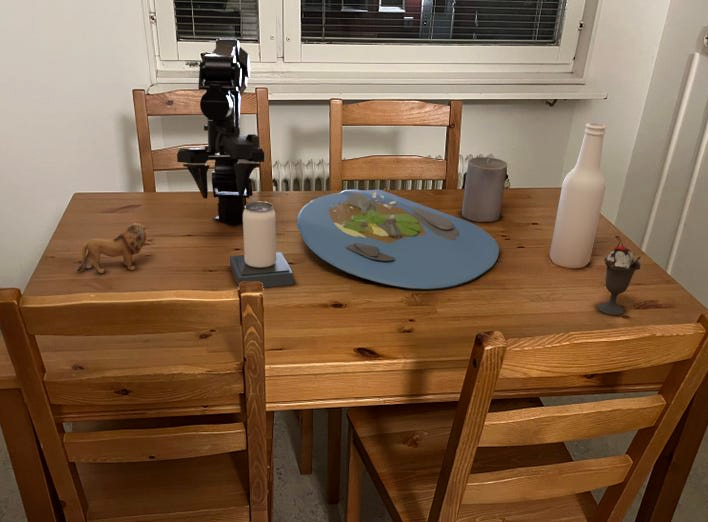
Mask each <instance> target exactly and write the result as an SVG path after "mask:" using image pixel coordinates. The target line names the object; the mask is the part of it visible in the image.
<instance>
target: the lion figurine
mask: <svg viewBox="0 0 708 522" xmlns="http://www.w3.org/2000/svg"><path fill="white" fill-rule="evenodd" d="M146 241H147V232H146V229H145V225H143V224H141V223H137V222H134V223H131V224H129V225H127V228H126V230H124V231H123V232H121V233H120V234H119V235H117V237H115V238H112V239H103V238H97V237H96V238H91V239H89V240H87V242H85V244H84V246H83V248H82V255H81V263H80V266H78V268H77V269H76V272H80V271H82V269H83V268H85V269H91V268H92V264H89V262H90V261H91V260H93V267H94V268H95V270H96V271H97V273H99V274H104V273H105V272H106V271H105V269H104V268H100V265H99V263H100V259H101V254H102V255H104V256H106V257H110V258H118V257H122V258H123V264H124V265H125V266H126V267H127V268H128V270H129V271H135V270H136V266H133V255H136V254H139V253H140V252H141V250H142V248H143V247H144V245H145V244H146Z"/></svg>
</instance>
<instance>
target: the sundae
mask: <svg viewBox="0 0 708 522" xmlns="http://www.w3.org/2000/svg"><path fill="white" fill-rule="evenodd" d="M614 237H615V238H616V240H618V244H617V245H615V246H614V247H613V251H611V252H609V254H608V256H606V257H605V258H603V261H604V263H605V265H606V271H605V288H606V289H607V291H608V292H609V293H610V298H609V300H608V302H603V303H599V304H598V305H597V309H598V310H599V311H600V312H601V313H603V314H606V315H609V316H620V315H623V314H624V311H625V310H624V309H623V307H622V306H621V305H618V304H617V299H618V296H619V295H621V294H623V293H625V292H626V291H627V290H628V287H629V286H630V283H631V281H632V278H633V276H634V274H635V272H636V271H638V270H640V269H641V263H640V261H639V260H640V259H641V258H642V257H641V256H638V257H637V258H636V259H635V258H634V255H635V254H634V253H633V251H632V250H631V249H629V248H627V247H626V246H625V245H624V244H623V242H622V239H621V238H620V236H619V235H615V236H614ZM620 244H621V246H620Z"/></svg>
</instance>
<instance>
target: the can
mask: <svg viewBox="0 0 708 522" xmlns="http://www.w3.org/2000/svg"><path fill="white" fill-rule="evenodd" d="M276 218H277V217H276V211H275V210H274V204H272V203H270V202H267V201H251V202H248V203H246V205H245V210H244V212H243V222H242V229H243V231H242V232H243V253H244V254H243V255H244V256H245V263H246V264H247V265H248V266H250V267H253V268H268V267H271V266H273V265H274V264H275V263H276V252H277V220H276Z"/></svg>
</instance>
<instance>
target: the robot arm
mask: <svg viewBox="0 0 708 522" xmlns="http://www.w3.org/2000/svg"><path fill="white" fill-rule="evenodd" d="M250 65H251V64H250V58H249V54H248V52H247V51H246V50H244V48H242V47H241V46H240V41H239V40H237V39H235V38H218V39H216V40H215V48H214V49H213V50H212V52H211V53H210V54H205V55H204V56H203V57H202V61H200V62H199V69H198V70H199V71H198V84H197V85H198V91H205V93H203V94H202V96H201V98H200V102H199V108H200V111H201V113H202V114H203V116H204V117H205V118H206V120H207V121H206V123H207V124H206V125H203V131H206V132H207V145H204V148H195V147H191V148H189V147H188V148H187V147H184V148H183V147H182V148H181V147H180V148H179V150H178V151H177V153H176V162H177V163H182V167H185V168H187V170H188V171H189V173H190V175H191V177H192V179H193V180H194V182H195V184H196V186H197V188H198V190H199V192H200V194H201V196H202V198H203V199H205V200H206V199H208V193H209V188H208V187H209V186H208V171H209V169H210V166H211V165H210V164H206V163H207V162H208V161H214V169H213V170H214V171H211V186H212V187H211V188H212V194H213V198H218V200H217V201H218V203H217V215H216V216H214V219H215V220H216V221H218V222H219V221H220V222H222V223H224V224H227V225H230V226H237V225H239V224H241V223H242V224H243V212H244V210H245V205H246V204H247V199H249V198H250V197H252V196H253V195H254V194H253V182H252V177H251V175H252V173H253V171H254V170H255V169H256V168H257V167H260V166H261V163H265V162H266V154H265V152H264V150H263V148H260V137H259V136H258V135H257V134H256V133H255V134H254V133H249V134H247V135H244V136H243V135H241V97H242V95H243V93H244V92H245V90H246V89H247V88H248V79H249V78H250V76H251V75H250V74H251V72H250V71H251V67H250Z"/></svg>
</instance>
